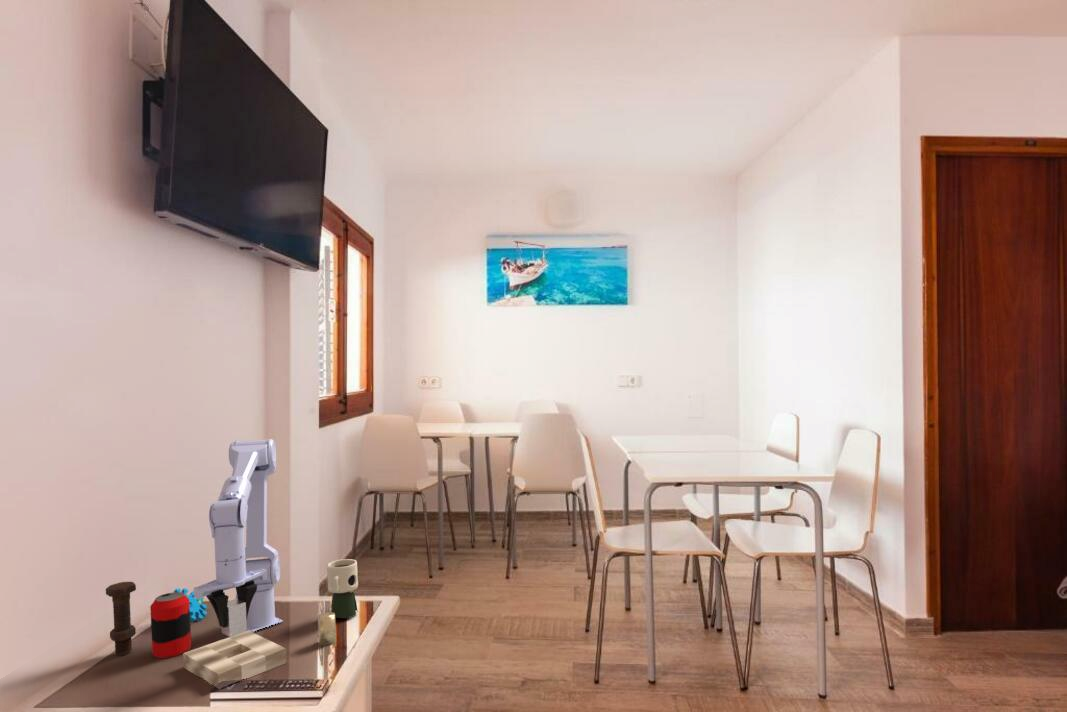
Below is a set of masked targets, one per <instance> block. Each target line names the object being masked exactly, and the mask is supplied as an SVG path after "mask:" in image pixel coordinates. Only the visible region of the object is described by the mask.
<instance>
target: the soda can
mask: <svg viewBox="0 0 1067 712" xmlns="http://www.w3.org/2000/svg"><path fill="white" fill-rule="evenodd" d="M149 608H150V626H151V629H150V631H151V632H150V633H151V649H152V650H151V651H152V655H153V657H155V658H157V659H166V658H167V659H168V658H173V657H177V656H179V655H180V656H181V655H183V653H185V652H188V651H190V649H191V647H192V634H191V633H192V632H191V621H190V617H191V615H190V605H189V598H188V597H187V596H186V595H184V593H182V592H174V591H173V592H166V593H164V594H161V595H159V596H157V597H155V598H154V600H153V602H152V604H151V605H150V606H149Z"/></svg>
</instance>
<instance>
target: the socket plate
mask: <svg viewBox="0 0 1067 712" xmlns="http://www.w3.org/2000/svg"><path fill="white" fill-rule="evenodd" d="M182 657H183V668H184V669H186V670H187V671H189V673H192V674H193V673H194V674H193V675H195V674H196V675H197V676H196V675H195V676H196V677H198V676H199V677H201V678H203V679H204V680H206V681H208V682H209V683H210V684H209V683H208V684H209V685H211V684H212V685H215V684H217V683H220V682H222V681H230V680H239V679H245V680H247V679H250V678H252V677H256V676H257V675H259V674H262V673H264V672H267V671H269V670H272V669H275V668H277V667H279V666H283V665H284V664H287V648H286V647H283V646H281V645H279V644H278V643H275V642H273V641H271V640H269V639H267V638H265V637H262V636H261V635H259V634H257V633H256V632H251V631H245V632H242V633H239V634H237V635H234V636H231V637H229V636H228V637H225V638H224V639H220V640H217V641H214V642H212V643H209V644H206V645H203V646H201V647H197V648H194V649H192V650H188V651H186V652H185V653H183V654H182ZM199 677H198V678H199ZM201 678H200V679H201ZM246 678H247V679H246ZM203 679H202V680H203ZM204 680H203V681H204ZM206 681H205V682H206ZM212 685H211V686H212Z"/></svg>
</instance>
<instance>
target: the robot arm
mask: <svg viewBox="0 0 1067 712" xmlns="http://www.w3.org/2000/svg"><path fill="white" fill-rule="evenodd" d="M228 460H229V461H228V462H229V465H230V466H231V467H232V469H233V470H232V472H231V473H232V474H231V476H230V477H227V478H226V479H225V481H224V482H223V485H222V487H221V490H220V493H219V496H218V499H217V500H215V502H214V503H211V504H210V506H209V511H208V512H209V513H208V523H209V526H210V530H211V538H213V540H214V542H213V543H214V558H215V559H214V561H215V579H214V580H211V581H208V582H206V583H204V584H201V585H198V586H196V587H195V586H194V587H193V592H194V598H197V599H201V598H203V597H204V598H205V597H206V598H207V600H208V601H209V603H210V605H211V607H213V610H214V612H215V614H216V615H215V616H216V617H217V621H218V626H219V627H220V628H221V627H223V628H225V627H227V603H228V601H229V595H227V594H226V593H225V591H227V590H230V589H235V591H236V593H235V598H234V599H240V600H242V601H244V602H246V621H247V631H251V632H253V633H256V632H258V631H257V630H259V629H262V628H265V627H267V628H270V627H272V626H271V625H273V626H276V625H279V624H282V623H283V622H284V621H283V619H280V618H279V617H276V612H275V611H276V609H275V606H276V604H275V587H274V586H275V585H277V584H278V582H279V581H280V577H281V564H280V563H281V562H280V554H279V552H278V550H277V549H275V548H274V547H272V546H271V545H270V544H268V525H267V524H268V481H269V476H271V475H272V474H275V472H276V468H277V447H276V442H275V441H274V440H273V439H272V438H268V439H258V440H257V439H256V440H255V439H254V440H239V441H237V440H233V441H232V442H231V443H230V444H229V448H228ZM245 525H246V530H245ZM245 532H246V534H245ZM253 558H254V559H253ZM255 558H256V559H255ZM257 558H258V559H257ZM259 558H261V559H259ZM247 559H248V560H247ZM281 622H282V623H281ZM278 623H279V624H278ZM275 624H276V625H275ZM269 626H270V627H269ZM265 629H266V628H265ZM262 630H263V629H262ZM255 631H256V632H255ZM259 631H260V630H259Z"/></svg>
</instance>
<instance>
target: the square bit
mask: <svg viewBox="0 0 1067 712" xmlns="http://www.w3.org/2000/svg"><path fill="white" fill-rule="evenodd" d="M220 628H221V634H224V635H225V636H227V637H228V638H229V637H232V636H234V635H237V634H240V633H243V632H246V631H247V621H246V602H244V601H242V600H240V599H235V598H234V599H231V600H228V603H227V627H225V628H223V627H221V626H220Z"/></svg>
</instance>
